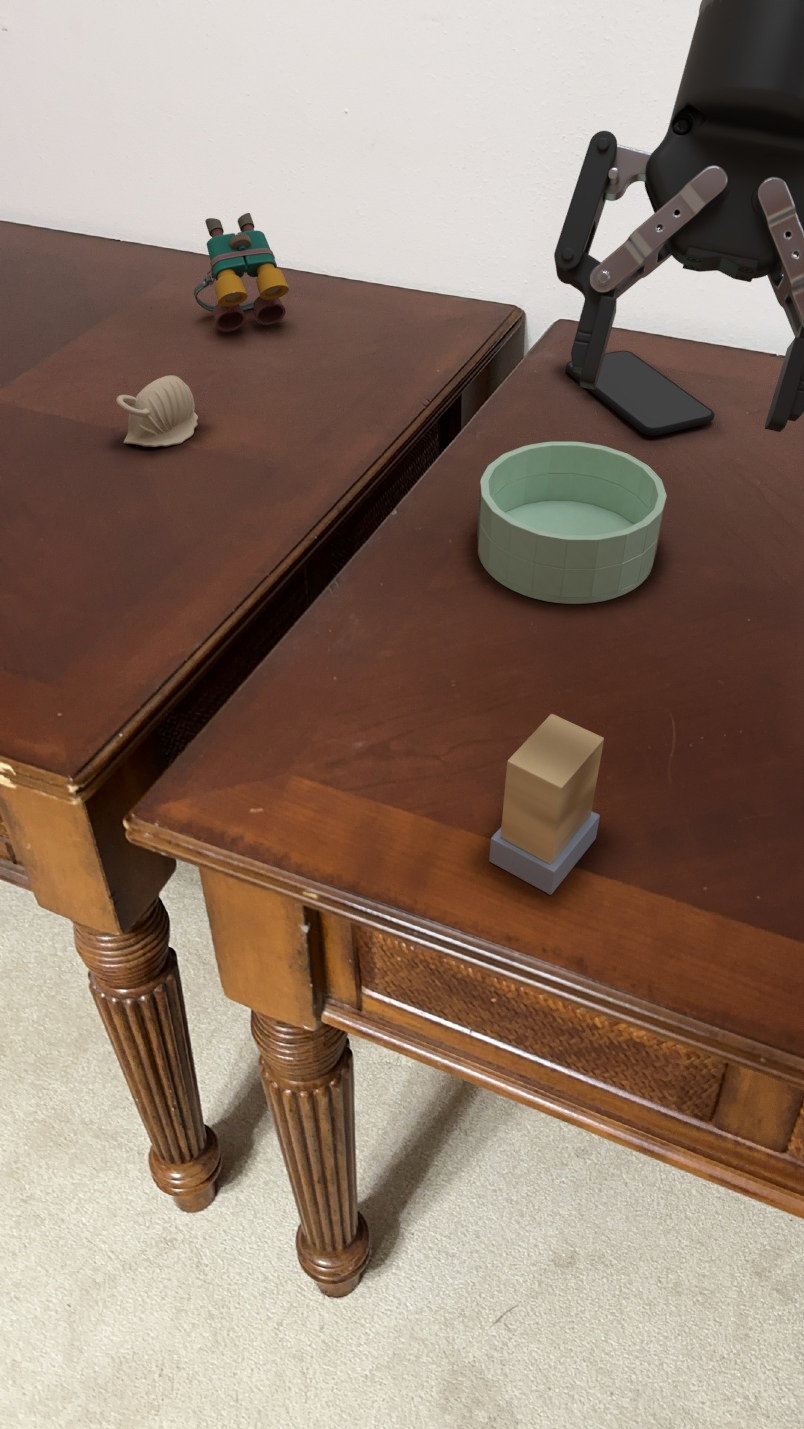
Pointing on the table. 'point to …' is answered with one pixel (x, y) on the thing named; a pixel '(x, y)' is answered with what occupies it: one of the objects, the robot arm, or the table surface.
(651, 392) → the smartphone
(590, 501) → the bowl
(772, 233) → the robot arm
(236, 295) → the binoculars
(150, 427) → the decorative ornament
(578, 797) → the eraser
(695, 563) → the table surface
